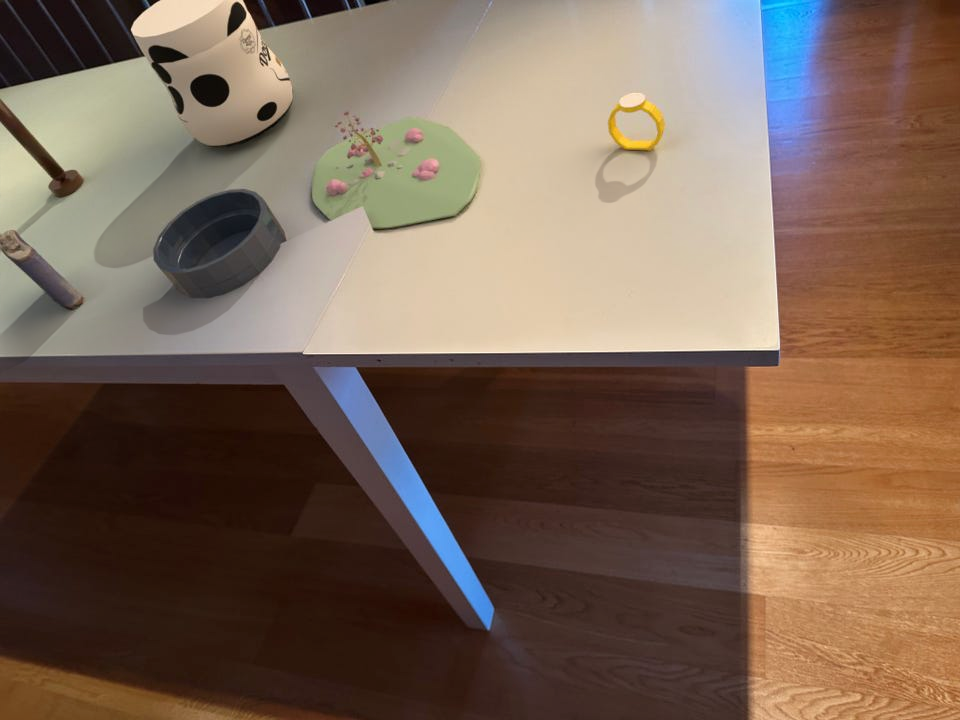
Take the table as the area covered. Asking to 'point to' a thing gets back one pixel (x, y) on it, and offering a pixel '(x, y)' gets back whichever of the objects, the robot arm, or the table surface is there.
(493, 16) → the table surface
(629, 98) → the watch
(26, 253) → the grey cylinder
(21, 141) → the masher
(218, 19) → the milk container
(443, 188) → the plant
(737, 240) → the table surface
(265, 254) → the bowl
